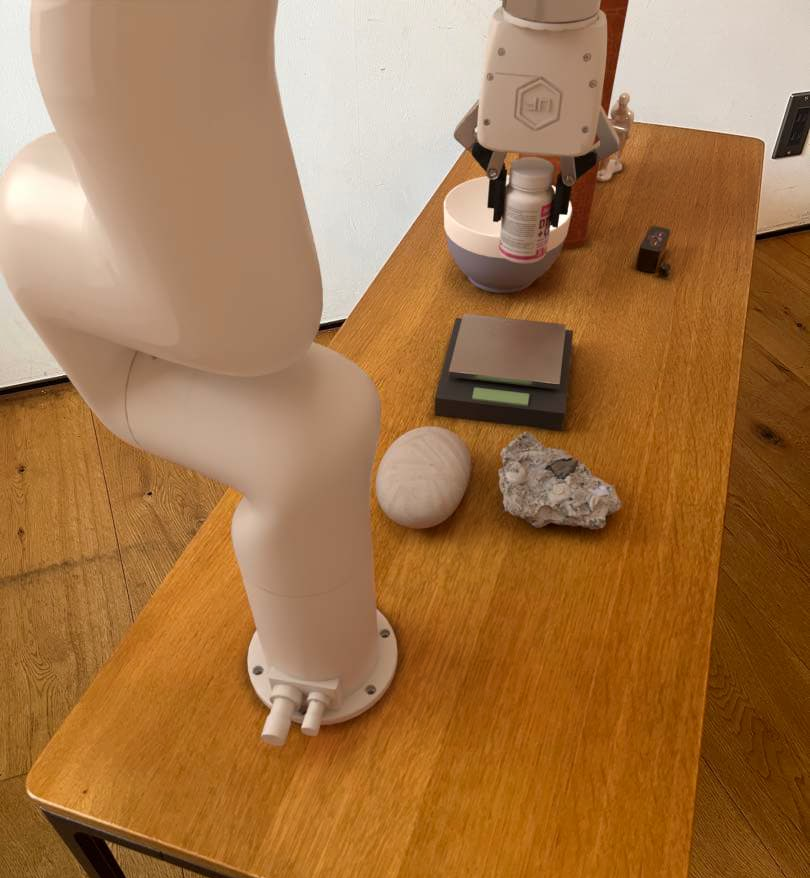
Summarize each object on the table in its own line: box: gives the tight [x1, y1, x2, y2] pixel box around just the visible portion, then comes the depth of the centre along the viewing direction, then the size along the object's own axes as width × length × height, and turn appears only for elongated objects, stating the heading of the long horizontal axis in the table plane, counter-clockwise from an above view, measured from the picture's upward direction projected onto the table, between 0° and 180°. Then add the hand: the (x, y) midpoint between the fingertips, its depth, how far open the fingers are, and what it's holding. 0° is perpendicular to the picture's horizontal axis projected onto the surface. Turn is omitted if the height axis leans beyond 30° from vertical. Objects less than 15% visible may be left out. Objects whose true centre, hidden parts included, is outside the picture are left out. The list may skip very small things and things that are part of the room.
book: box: [518, 0, 630, 250], centre depth 104 cm, size 23×8×30 cm, turn 178°
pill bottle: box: [499, 157, 555, 264], centre depth 74 cm, size 5×5×8 cm
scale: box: [434, 317, 574, 432], centre depth 89 cm, size 15×14×3 cm
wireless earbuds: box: [635, 225, 672, 278], centre depth 105 cm, size 5×7×3 cm, turn 155°
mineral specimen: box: [497, 431, 623, 530], centre depth 76 cm, size 6×11×12 cm
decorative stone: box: [375, 425, 472, 530], centre depth 77 cm, size 13×9×5 cm
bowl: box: [443, 174, 572, 294], centre depth 101 cm, size 16×16×10 cm
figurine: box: [596, 92, 635, 182], centre depth 118 cm, size 5×9×12 cm, turn 157°
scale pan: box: [449, 313, 567, 389], centre depth 88 cm, size 11×12×1 cm
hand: (526, 215), depth 75 cm, fingers closed on pill bottle, 4 cm apart
